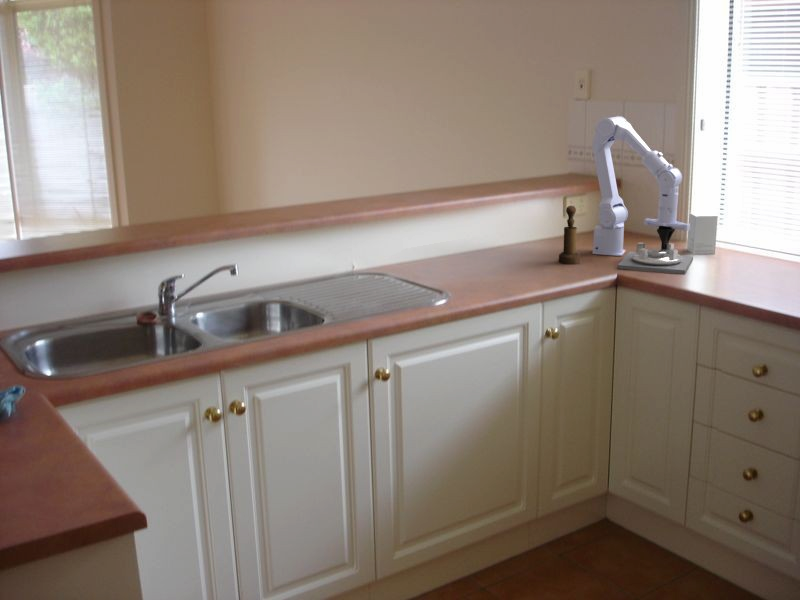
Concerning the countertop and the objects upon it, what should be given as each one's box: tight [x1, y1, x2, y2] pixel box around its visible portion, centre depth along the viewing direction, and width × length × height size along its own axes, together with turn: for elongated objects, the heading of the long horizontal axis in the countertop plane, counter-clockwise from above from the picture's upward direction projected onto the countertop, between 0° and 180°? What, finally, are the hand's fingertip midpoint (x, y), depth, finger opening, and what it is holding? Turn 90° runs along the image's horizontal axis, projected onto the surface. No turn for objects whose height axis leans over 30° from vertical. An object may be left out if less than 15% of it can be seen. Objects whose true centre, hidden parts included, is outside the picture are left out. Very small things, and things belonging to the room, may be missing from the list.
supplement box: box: [686, 211, 719, 255], centre depth 310 cm, size 7×7×13 cm
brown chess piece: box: [558, 205, 581, 265], centre depth 297 cm, size 7×6×18 cm
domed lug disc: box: [632, 242, 682, 265], centre depth 294 cm, size 15×15×4 cm
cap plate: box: [617, 251, 694, 275], centre depth 295 cm, size 20×20×1 cm
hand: (664, 250), depth 299 cm, fingers closed, pressing on domed lug disc
